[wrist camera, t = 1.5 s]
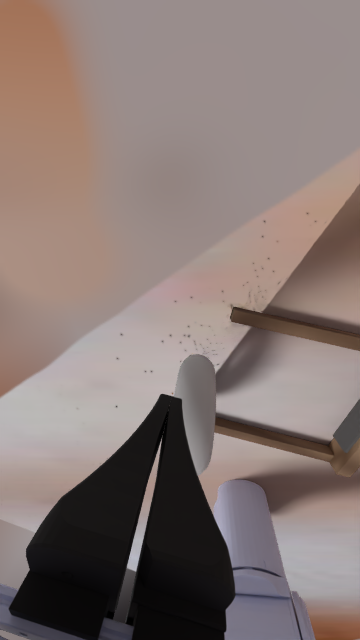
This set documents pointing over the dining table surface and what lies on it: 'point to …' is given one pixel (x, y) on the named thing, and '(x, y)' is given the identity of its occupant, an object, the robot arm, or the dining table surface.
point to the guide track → (343, 452)
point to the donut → (198, 407)
